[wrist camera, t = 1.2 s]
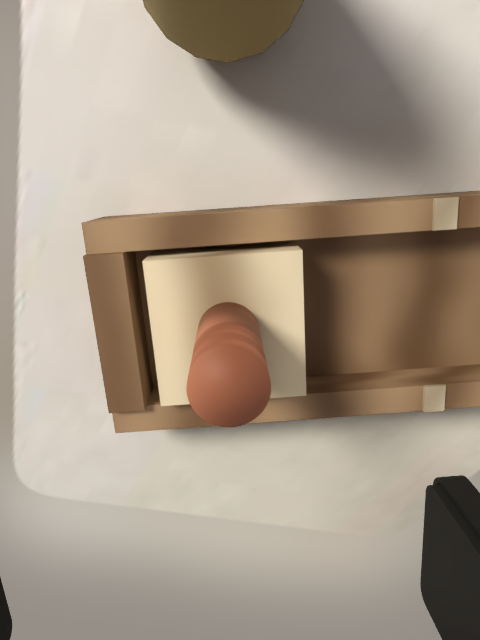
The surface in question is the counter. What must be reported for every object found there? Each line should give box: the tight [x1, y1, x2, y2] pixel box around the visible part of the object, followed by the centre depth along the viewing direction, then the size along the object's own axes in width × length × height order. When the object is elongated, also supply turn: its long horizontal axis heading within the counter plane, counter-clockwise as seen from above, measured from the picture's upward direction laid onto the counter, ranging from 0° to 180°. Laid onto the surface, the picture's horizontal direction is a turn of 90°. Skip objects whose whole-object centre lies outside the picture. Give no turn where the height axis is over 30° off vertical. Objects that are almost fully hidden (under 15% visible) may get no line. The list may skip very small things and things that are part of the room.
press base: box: [82, 191, 480, 433], centre depth 26 cm, size 26×12×6 cm, turn 94°
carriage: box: [142, 242, 306, 427], centre depth 22 cm, size 8×8×10 cm
